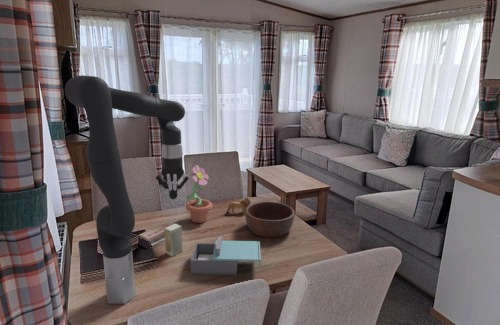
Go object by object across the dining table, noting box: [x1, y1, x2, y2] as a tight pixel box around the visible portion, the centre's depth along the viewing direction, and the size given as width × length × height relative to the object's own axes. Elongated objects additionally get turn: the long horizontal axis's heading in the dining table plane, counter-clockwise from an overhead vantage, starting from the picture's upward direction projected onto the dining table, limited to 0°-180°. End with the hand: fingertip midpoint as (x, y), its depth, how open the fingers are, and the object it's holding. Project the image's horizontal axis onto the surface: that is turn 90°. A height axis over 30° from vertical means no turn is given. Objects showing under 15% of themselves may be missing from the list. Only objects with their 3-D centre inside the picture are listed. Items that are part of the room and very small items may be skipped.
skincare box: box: [164, 223, 184, 257], centre depth 146 cm, size 6×4×12 cm
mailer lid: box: [212, 236, 262, 266], centre depth 137 cm, size 15×19×5 cm
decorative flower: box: [185, 164, 213, 224], centre depth 176 cm, size 15×14×30 cm
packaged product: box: [137, 223, 172, 247], centre depth 159 cm, size 18×5×10 cm
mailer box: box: [190, 242, 239, 276], centre depth 139 cm, size 14×18×6 cm
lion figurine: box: [225, 196, 252, 215], centre depth 190 cm, size 15×5×9 cm, turn 107°
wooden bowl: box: [244, 201, 296, 239], centre depth 171 cm, size 25×25×10 cm
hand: (173, 198), depth 131 cm, fingers closed
